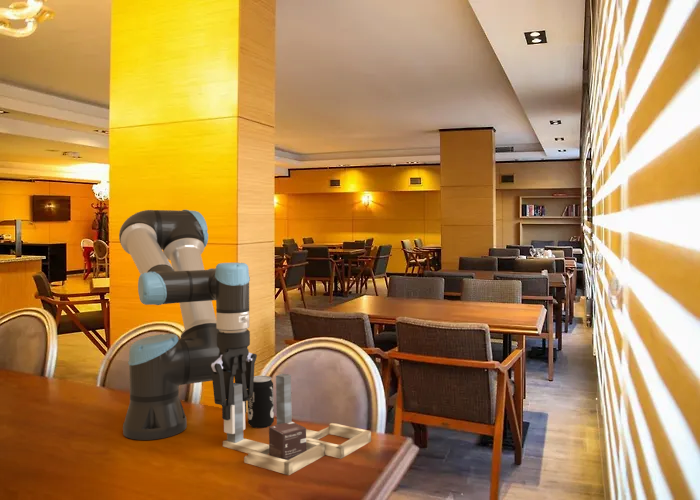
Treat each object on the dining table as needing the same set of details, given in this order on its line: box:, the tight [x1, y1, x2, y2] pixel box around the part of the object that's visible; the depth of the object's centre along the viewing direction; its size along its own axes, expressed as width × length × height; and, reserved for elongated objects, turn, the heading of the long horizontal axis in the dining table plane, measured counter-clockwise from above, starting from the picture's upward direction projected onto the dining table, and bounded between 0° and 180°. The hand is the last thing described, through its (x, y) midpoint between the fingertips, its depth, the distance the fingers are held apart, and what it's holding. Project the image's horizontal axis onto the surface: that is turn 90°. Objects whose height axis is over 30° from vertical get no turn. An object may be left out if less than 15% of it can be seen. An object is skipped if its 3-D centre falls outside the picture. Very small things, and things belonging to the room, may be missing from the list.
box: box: [268, 421, 307, 460], centre depth 124 cm, size 6×6×7 cm
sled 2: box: [275, 373, 372, 459], centre depth 136 cm, size 23×12×14 cm, turn 56°
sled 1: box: [222, 382, 326, 476], centre depth 128 cm, size 23×12×14 cm, turn 56°
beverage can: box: [247, 375, 275, 429], centre depth 148 cm, size 7×7×12 cm
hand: (234, 430), depth 134 cm, fingers closed on sled 1, 3 cm apart
